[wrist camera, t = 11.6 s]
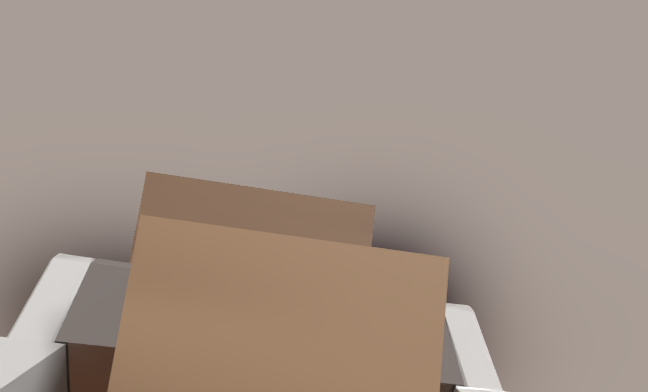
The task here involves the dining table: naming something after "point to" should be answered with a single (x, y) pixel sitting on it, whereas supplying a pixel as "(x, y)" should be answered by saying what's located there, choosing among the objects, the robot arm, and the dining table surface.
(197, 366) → the brown long block
